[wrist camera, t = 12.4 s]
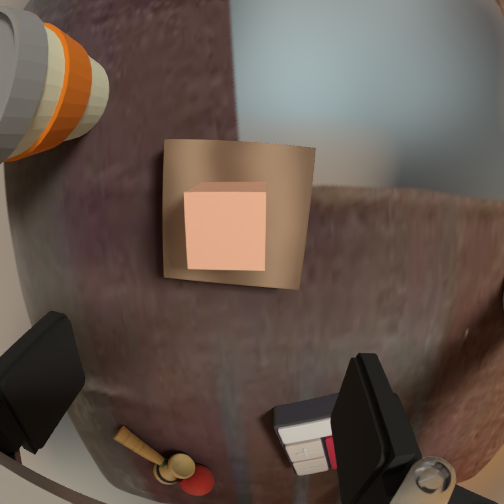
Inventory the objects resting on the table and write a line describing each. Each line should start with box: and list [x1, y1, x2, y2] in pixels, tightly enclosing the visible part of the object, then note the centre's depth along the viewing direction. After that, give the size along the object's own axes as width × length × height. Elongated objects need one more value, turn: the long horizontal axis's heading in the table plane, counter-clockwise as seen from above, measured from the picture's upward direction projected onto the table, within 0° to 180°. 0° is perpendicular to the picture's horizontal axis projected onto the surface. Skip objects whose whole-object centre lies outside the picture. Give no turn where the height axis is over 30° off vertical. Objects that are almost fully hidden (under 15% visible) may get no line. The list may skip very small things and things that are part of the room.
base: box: [163, 139, 316, 290], centre depth 27 cm, size 12×12×4 cm
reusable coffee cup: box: [0, 6, 109, 164], centre depth 18 cm, size 12×13×15 cm
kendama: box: [114, 425, 214, 496], centre depth 40 cm, size 8×6×18 cm
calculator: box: [273, 393, 339, 475], centre depth 36 cm, size 11×4×15 cm
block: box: [184, 182, 266, 271], centre depth 22 cm, size 5×5×6 cm
